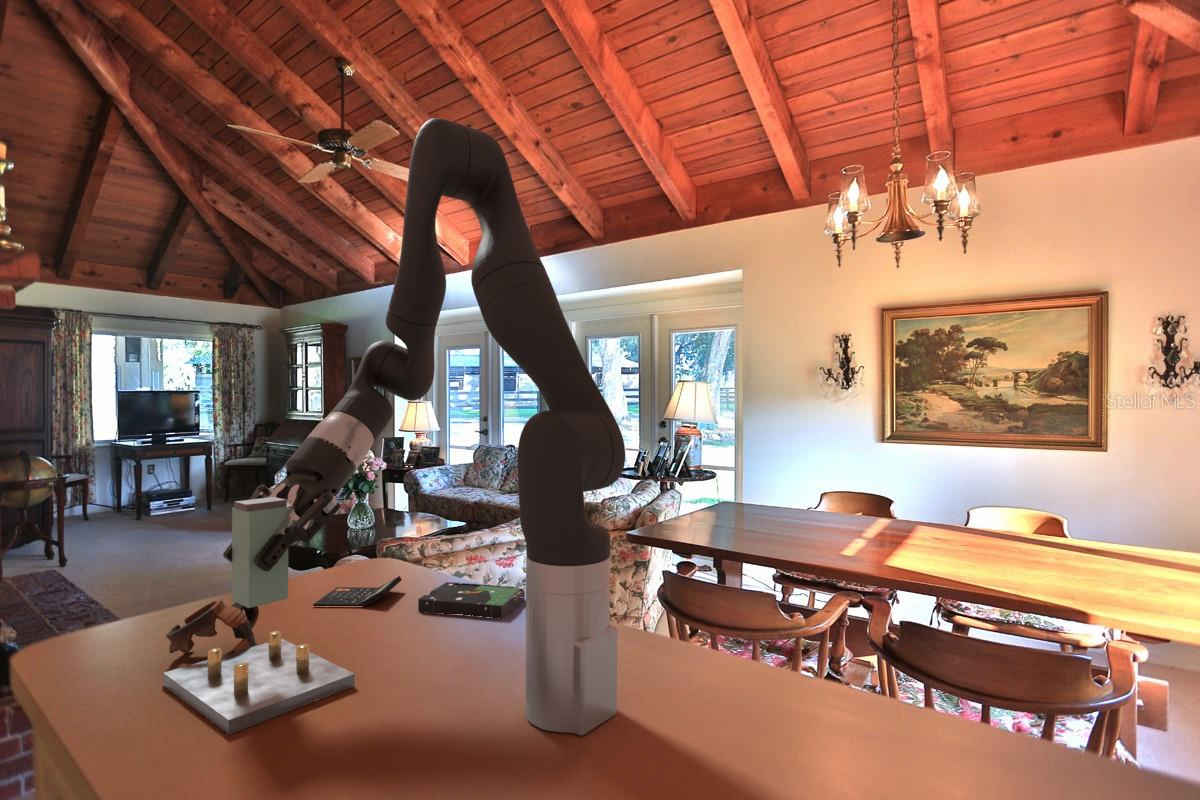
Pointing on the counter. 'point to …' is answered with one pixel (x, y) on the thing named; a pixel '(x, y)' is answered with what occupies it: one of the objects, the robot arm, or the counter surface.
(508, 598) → the disk drive
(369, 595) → the calculator
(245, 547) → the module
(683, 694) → the counter surface
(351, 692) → the counter surface
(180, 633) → the pottery mug
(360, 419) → the robot arm
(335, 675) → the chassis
